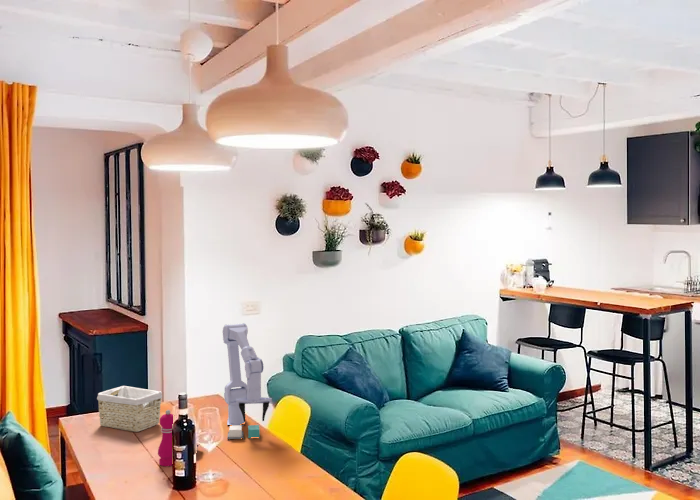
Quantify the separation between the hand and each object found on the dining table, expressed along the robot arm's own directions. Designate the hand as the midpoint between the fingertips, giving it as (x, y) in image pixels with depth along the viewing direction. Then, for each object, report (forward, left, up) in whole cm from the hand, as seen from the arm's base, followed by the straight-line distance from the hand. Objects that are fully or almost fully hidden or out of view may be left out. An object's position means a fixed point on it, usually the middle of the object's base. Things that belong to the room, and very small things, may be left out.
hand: (253, 420), depth 274 cm
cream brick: (0, -8, -7) cm, 10 cm away
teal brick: (0, 0, -7) cm, 7 cm away
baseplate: (0, -8, -7) cm, 10 cm away
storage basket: (-22, -54, -7) cm, 58 cm away
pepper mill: (+27, -32, -7) cm, 42 cm away
